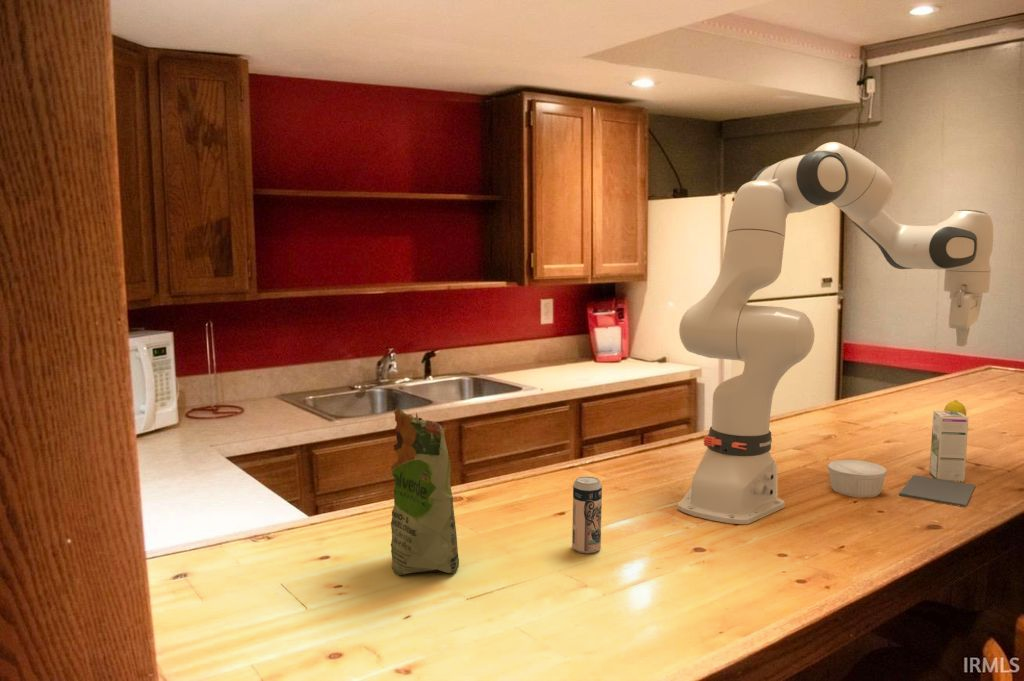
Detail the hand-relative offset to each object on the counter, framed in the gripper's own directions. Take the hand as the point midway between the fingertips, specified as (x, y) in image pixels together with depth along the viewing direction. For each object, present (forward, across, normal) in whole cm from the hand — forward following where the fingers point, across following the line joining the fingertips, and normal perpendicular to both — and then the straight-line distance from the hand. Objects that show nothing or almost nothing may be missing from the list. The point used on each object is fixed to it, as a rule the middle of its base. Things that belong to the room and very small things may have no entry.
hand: (961, 345), depth 180 cm
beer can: (+28, -92, +43) cm, 106 cm away
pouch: (+28, -114, +60) cm, 132 cm away
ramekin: (+29, -31, +14) cm, 45 cm away
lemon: (+29, +45, +5) cm, 54 cm away
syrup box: (+29, -9, 0) cm, 30 cm away
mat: (+28, -21, 0) cm, 35 cm away
